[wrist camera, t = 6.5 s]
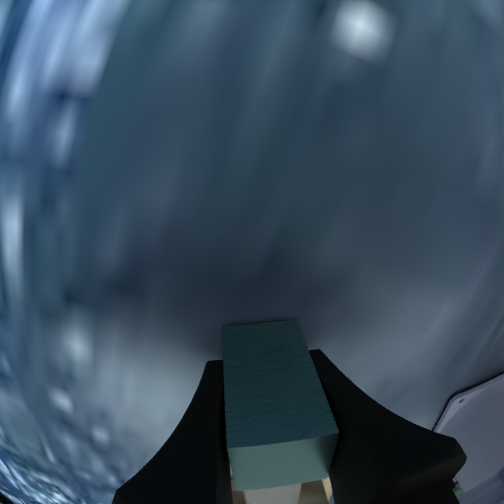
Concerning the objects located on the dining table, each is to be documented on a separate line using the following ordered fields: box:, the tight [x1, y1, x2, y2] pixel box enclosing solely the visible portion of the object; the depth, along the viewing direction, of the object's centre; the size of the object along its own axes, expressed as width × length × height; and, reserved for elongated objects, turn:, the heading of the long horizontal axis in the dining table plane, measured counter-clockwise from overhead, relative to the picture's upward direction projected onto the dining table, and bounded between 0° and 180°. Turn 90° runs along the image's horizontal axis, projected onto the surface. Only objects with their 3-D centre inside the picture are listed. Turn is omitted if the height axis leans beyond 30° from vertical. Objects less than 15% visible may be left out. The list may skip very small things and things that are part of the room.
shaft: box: [222, 319, 339, 504], centre depth 14 cm, size 3×24×6 cm, turn 3°
